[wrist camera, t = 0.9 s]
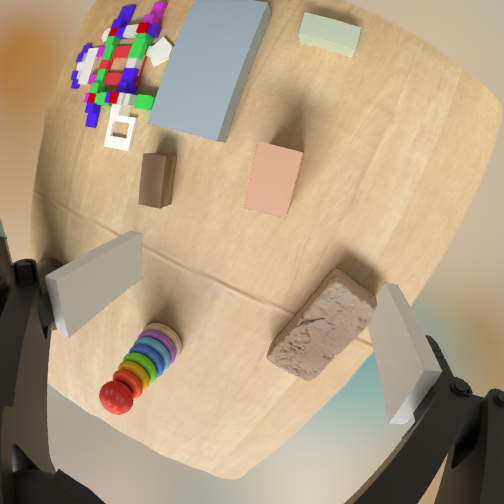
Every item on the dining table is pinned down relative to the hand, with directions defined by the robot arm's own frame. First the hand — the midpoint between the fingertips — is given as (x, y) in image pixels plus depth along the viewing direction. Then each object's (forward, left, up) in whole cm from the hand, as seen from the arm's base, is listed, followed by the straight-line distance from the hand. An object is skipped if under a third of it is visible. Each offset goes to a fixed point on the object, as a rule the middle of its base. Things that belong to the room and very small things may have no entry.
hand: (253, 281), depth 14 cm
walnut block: (-18, -1, -24) cm, 30 cm away
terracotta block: (-2, +3, -24) cm, 24 cm away
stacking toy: (-15, -29, -24) cm, 40 cm away
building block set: (-31, +15, -24) cm, 42 cm away
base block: (-14, +16, -24) cm, 32 cm away
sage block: (0, +23, -24) cm, 33 cm away
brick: (+9, -15, -24) cm, 30 cm away
